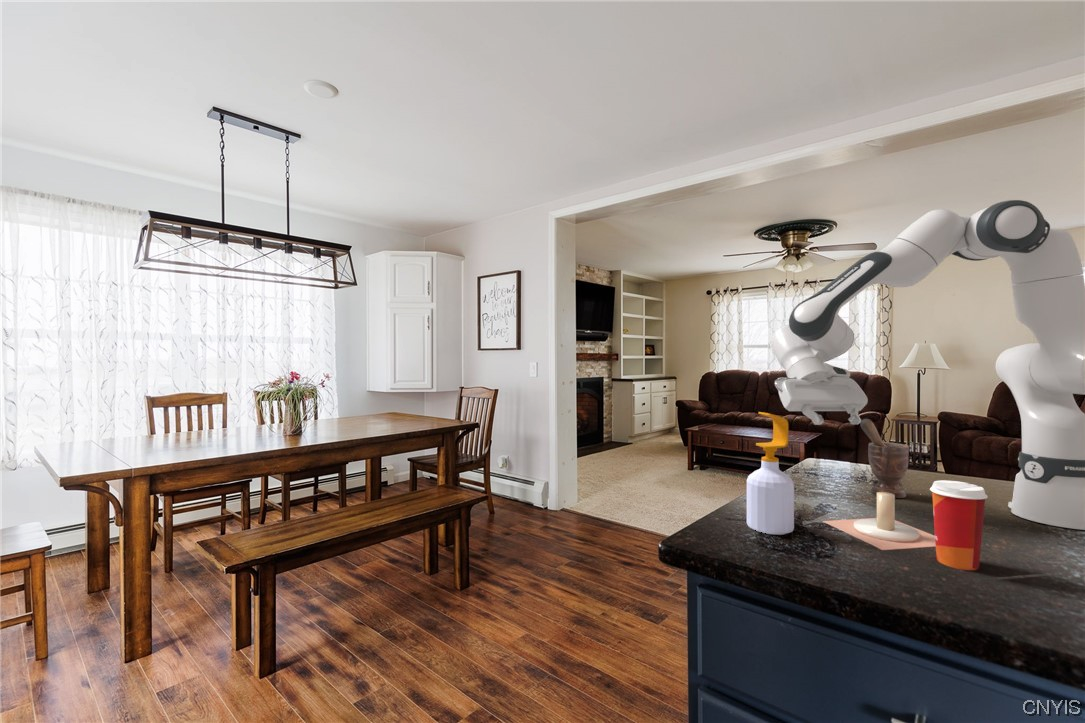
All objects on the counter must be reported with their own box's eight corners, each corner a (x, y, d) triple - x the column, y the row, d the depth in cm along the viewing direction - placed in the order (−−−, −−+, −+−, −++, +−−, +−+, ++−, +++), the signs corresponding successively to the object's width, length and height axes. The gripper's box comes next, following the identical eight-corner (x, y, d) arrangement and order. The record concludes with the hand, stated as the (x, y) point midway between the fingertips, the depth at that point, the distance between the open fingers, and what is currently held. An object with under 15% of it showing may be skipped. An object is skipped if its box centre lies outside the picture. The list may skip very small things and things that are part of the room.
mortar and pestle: (890, 503, 121) (890, 422, 121) (854, 494, 129) (854, 418, 128) (915, 496, 127) (915, 419, 126) (879, 488, 134) (879, 415, 134)
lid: (886, 521, 107) (887, 485, 107) (934, 540, 96) (934, 500, 96) (841, 524, 105) (841, 488, 105) (884, 543, 95) (884, 503, 94)
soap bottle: (737, 522, 108) (737, 410, 108) (773, 519, 110) (773, 409, 110) (766, 537, 99) (766, 415, 99) (803, 533, 102) (804, 413, 101)
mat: (887, 518, 110) (887, 517, 110) (957, 546, 94) (957, 544, 94) (822, 522, 108) (822, 521, 108) (882, 552, 92) (882, 549, 92)
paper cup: (958, 555, 90) (959, 479, 90) (999, 574, 82) (1000, 490, 82) (917, 556, 90) (918, 479, 89) (955, 575, 82) (955, 491, 82)
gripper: (777, 369, 119) (803, 414, 110) (853, 369, 122) (885, 414, 112) (766, 386, 124) (790, 431, 114) (840, 386, 126) (869, 430, 117)
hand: (838, 423), depth 113 cm, fingers open, 8 cm apart
